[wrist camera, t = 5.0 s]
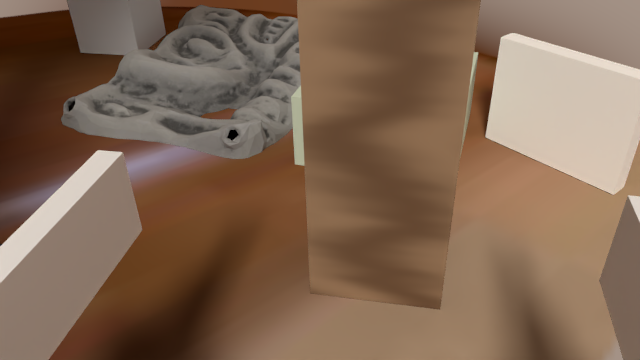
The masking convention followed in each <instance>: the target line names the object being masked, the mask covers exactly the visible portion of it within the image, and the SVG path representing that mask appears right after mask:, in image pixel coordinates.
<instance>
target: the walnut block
mask: <svg viewBox="0 0 640 360" xmlns="http://www.w3.org/2000/svg"><path fill="white" fill-rule="evenodd" d="M480 2H481V0H297V9H298V33H299V55H300V77H301V99H302V121H303V143H304V165H305V187H306V210H307V232H308V254H309V276H310V293H312V294H320V295H328V296H336V297H344V298H352V299H360V300H368V301H376V302H385V303H393V304H401V305H409V306H417V307H425V308H433V309H440V306H441V298H442V290H443V283H444V275H445V268H446V260H447V252H448V245H449V237H450V230H451V222H452V215H453V207H454V199H455V192H456V184H457V177H458V169H459V161H460V154H461V146H462V139H463V131H464V124H465V116H466V108H467V101H468V93H469V86H470V78H471V71H472V63H473V55H474V48H475V40H476V32H477V24H478V17H479V10H480Z"/></svg>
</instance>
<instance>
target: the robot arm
mask: <svg viewBox="0 0 640 360" xmlns="http://www.w3.org/2000/svg"><path fill="white" fill-rule="evenodd" d="M141 231H142V227H141V223H140V219H139V215H138V211H137V207H136V203H135V199H134V195H133V191H132V187H131V183H130V179H129V175H128V171H127V167H126V163H125V159H124V155H123V152H112V151H101V150H98V151H97V152H96V153H95V154H94V155H93V156H92V157H91V158H90V159H89V160H88V161H86V162H85V163H84V164H83V165H82V166H81V167H80V168H79V169H78V170H77V171H76V172H75V173H74V174H73V175H72V176H71V177H70V178H69V179H68V180H67V181H66V182H65V183H64V184H63V185H62V186H61V187H60V188H59V189H58V190H57V191H56V192H55V193H54V194H53V195H52V196H51V197H50V198H49V199H48V200H47V201H46V202H45V203H44V204H43V205H42V206H41V207H40V208H39V209H38V210H37V211H36V212H35V213H34V214H33V215H32V216H31V217H30V218H29V219H28V220H27V221H26V222H25V223H24V224H23V225H22V226H21V227H19V228H18V229H17V230H16V231H15V232H14V233H13V234H12V235H11V236H10V237H9V238H8V239H7V240H6V241H5V242H4V243H3V244H0V360H48V359H49V358H50V357H51V355H52V354H53V353H54V351H55V350H56V348H57V347H58V346H59V344H60V343H61V341H62V340H63V339H64V337H65V336H66V335H67V333H68V332H69V330H70V329H71V328H72V326H73V325H74V324H75V322H76V321H77V319H78V318H79V317H80V315H81V314H82V312H83V311H84V310H85V308H86V307H87V306H88V304H89V303H90V301H91V300H92V299H93V297H94V296H95V295H96V293H97V292H98V290H99V289H100V288H101V286H102V285H103V283H104V282H105V281H106V279H107V278H108V277H109V275H110V274H111V272H112V271H113V270H114V268H115V267H116V266H117V264H118V263H119V261H120V260H121V259H122V257H123V256H124V254H125V253H126V252H127V250H128V249H129V248H130V246H131V245H132V243H133V242H134V241H135V239H136V238H137V236H138V235H139V234H140V232H141ZM599 281H600V284H601V287H602V291H603V294H604V297H605V300H606V304H607V307H608V310H609V314H610V317H611V320H612V324H613V327H614V330H615V333H616V337H617V340H618V343H619V347H620V350H621V353H622V357H623V359H624V360H640V197H639V196H628V197H627V200H626V203H625V206H624V209H623V212H622V215H621V218H620V221H619V224H618V227H617V230H616V233H615V236H614V239H613V242H612V245H611V248H610V250H609V253H608V256H607V259H606V262H605V265H604V268H603V271H602V274H601V277H600V280H599Z"/></svg>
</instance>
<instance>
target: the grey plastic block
mask: <svg viewBox="0 0 640 360" xmlns="http://www.w3.org/2000/svg"><path fill="white" fill-rule="evenodd" d="M67 3H68V7H69V10H70V14H71V18H72V22H73V25H74V29H75V33H76V37H77V40H78V44H79V48H80V52H81V53H94V54H113V55H126V54H127V53H128V52H130V51H132V50H139V49H148V48H150V47H151V46H152V45H153V44H155V43H156V42H157V41H158V40H160V39H161V38H162V37H163V36H164V35H166V32H165V26H164V20H163V15H162V9H161V3H160V0H67Z"/></svg>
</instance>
